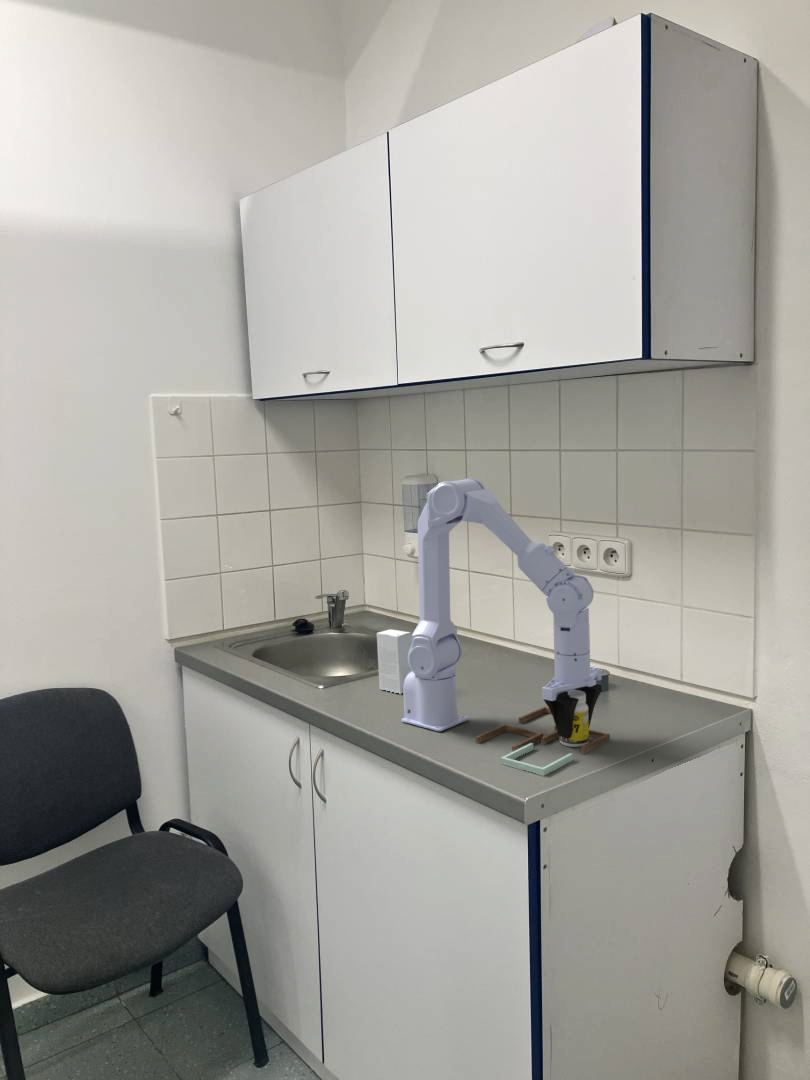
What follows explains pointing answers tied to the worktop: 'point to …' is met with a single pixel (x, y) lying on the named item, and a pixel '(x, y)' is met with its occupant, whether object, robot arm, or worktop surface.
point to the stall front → (601, 739)
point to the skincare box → (393, 659)
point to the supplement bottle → (578, 722)
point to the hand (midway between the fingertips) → (573, 732)
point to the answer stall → (543, 771)
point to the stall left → (535, 715)
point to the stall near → (533, 734)
